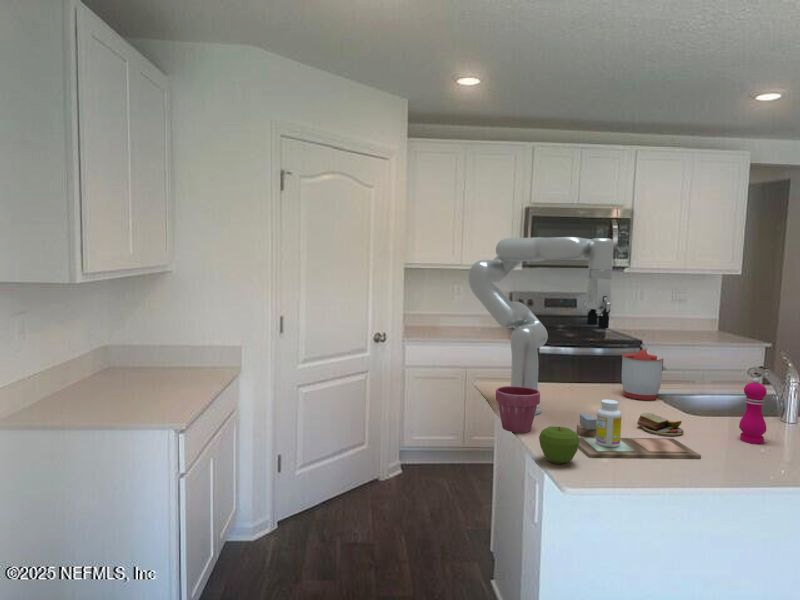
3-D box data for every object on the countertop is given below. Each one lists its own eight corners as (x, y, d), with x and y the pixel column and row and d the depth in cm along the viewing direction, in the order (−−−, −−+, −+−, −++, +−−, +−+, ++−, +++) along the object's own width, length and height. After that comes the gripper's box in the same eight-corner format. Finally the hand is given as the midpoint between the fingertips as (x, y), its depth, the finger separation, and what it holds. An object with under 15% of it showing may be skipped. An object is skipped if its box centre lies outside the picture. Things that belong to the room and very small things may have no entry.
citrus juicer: (672, 402, 223) (675, 352, 222) (628, 401, 223) (631, 351, 222) (655, 393, 239) (657, 346, 237) (614, 392, 239) (616, 345, 238)
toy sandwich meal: (667, 439, 176) (668, 425, 176) (630, 428, 188) (631, 414, 188) (691, 434, 183) (692, 420, 182) (654, 423, 194) (655, 410, 194)
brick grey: (596, 429, 175) (596, 419, 175) (586, 429, 175) (587, 419, 175) (588, 423, 181) (589, 414, 181) (579, 423, 181) (580, 414, 181)
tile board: (589, 457, 157) (589, 453, 157) (570, 440, 172) (571, 436, 172) (700, 458, 159) (701, 454, 159) (673, 441, 174) (673, 437, 174)
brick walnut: (579, 436, 177) (580, 427, 177) (576, 433, 180) (577, 424, 180) (598, 437, 177) (599, 427, 177) (595, 434, 180) (595, 425, 180)
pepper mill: (756, 445, 171) (761, 381, 170) (733, 439, 178) (737, 376, 176) (770, 442, 175) (775, 379, 173) (747, 436, 181) (751, 374, 180)
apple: (554, 471, 147) (556, 433, 146) (529, 458, 156) (531, 422, 155) (587, 466, 151) (588, 429, 150) (561, 453, 160) (562, 419, 160)
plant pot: (501, 420, 193) (502, 383, 192) (542, 426, 187) (544, 388, 186) (489, 431, 180) (490, 391, 179) (533, 438, 174) (534, 397, 173)
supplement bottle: (619, 442, 167) (621, 400, 167) (620, 449, 161) (622, 405, 160) (595, 439, 170) (598, 397, 169) (595, 446, 163) (597, 402, 163)
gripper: (579, 274, 196) (577, 323, 198) (599, 275, 179) (596, 329, 180) (600, 274, 197) (598, 323, 198) (622, 276, 179) (619, 329, 181)
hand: (597, 326), depth 189 cm, fingers open, 9 cm apart
